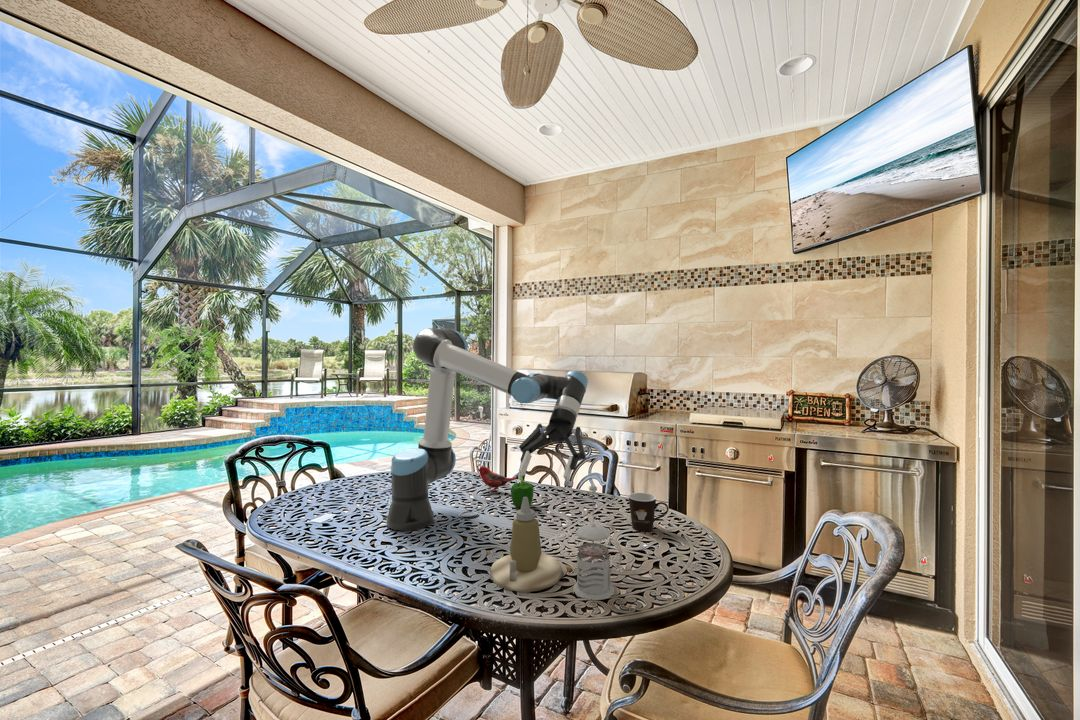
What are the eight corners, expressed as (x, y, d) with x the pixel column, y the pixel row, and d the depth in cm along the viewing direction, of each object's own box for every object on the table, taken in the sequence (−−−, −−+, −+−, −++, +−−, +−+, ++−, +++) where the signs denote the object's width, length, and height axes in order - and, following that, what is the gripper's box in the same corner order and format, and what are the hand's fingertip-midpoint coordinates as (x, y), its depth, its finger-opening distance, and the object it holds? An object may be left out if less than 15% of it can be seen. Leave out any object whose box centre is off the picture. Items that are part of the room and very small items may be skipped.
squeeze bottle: (504, 571, 118) (504, 500, 118) (517, 558, 126) (517, 491, 126) (535, 577, 116) (534, 504, 115) (546, 562, 123) (545, 494, 123)
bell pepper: (530, 510, 167) (530, 482, 167) (508, 509, 169) (508, 481, 168) (535, 503, 175) (535, 476, 175) (514, 501, 177) (514, 475, 177)
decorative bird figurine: (478, 489, 193) (478, 464, 193) (520, 492, 188) (519, 467, 188) (475, 491, 190) (475, 466, 190) (517, 494, 186) (517, 469, 185)
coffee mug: (623, 528, 150) (623, 497, 150) (637, 520, 156) (637, 491, 156) (656, 538, 142) (656, 505, 142) (670, 530, 148) (670, 498, 148)
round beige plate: (477, 581, 116) (476, 557, 116) (512, 553, 133) (512, 531, 133) (543, 598, 109) (542, 572, 108) (572, 565, 125) (572, 543, 125)
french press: (577, 576, 119) (577, 478, 118) (624, 583, 115) (623, 481, 115) (568, 596, 109) (568, 489, 109) (619, 604, 106) (618, 493, 105)
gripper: (606, 425, 140) (589, 488, 127) (532, 419, 151) (508, 477, 138) (601, 409, 135) (581, 474, 122) (524, 404, 146) (499, 463, 133)
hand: (543, 476), depth 130 cm, fingers open, 13 cm apart
